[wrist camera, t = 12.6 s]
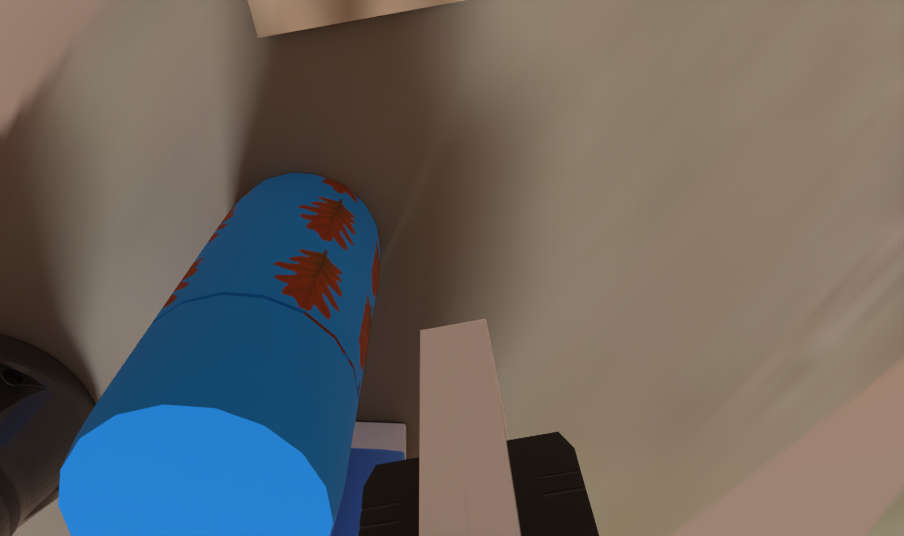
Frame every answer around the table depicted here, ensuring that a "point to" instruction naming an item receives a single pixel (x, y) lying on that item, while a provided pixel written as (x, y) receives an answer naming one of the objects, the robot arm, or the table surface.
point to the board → (323, 12)
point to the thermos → (240, 380)
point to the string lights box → (366, 468)
